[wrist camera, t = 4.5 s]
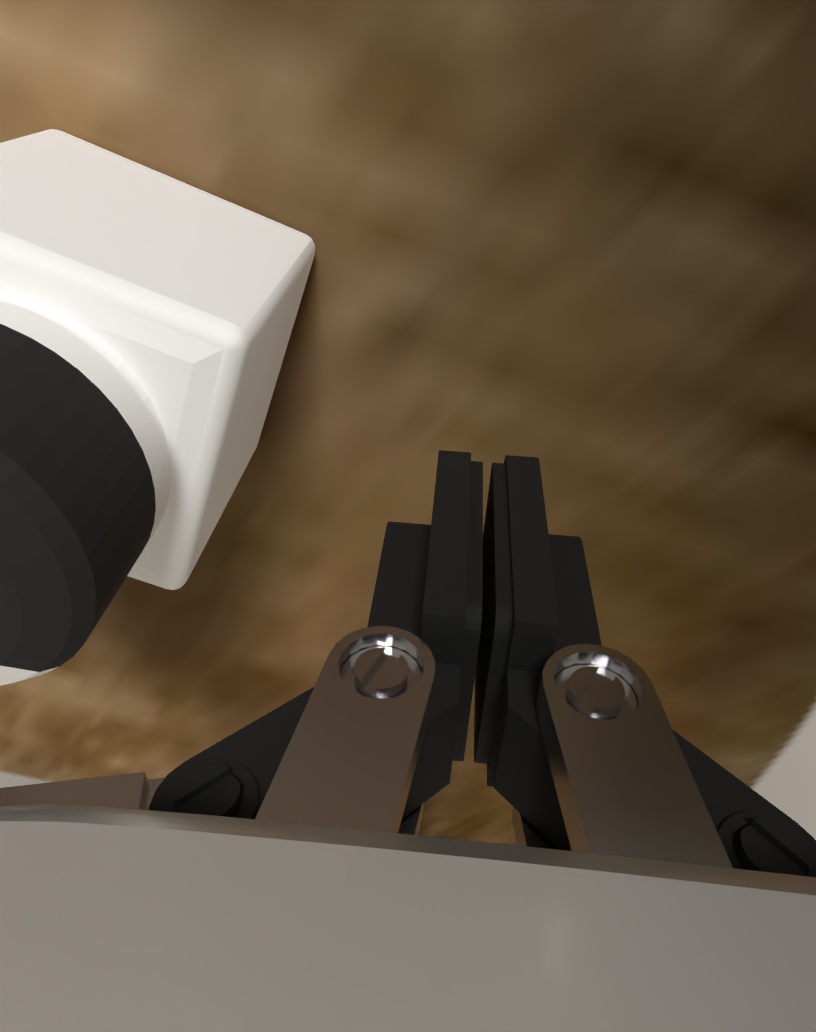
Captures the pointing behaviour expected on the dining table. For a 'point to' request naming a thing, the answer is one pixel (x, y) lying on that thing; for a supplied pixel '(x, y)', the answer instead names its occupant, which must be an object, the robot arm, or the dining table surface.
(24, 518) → the medicine bottle
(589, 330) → the dining table surface
